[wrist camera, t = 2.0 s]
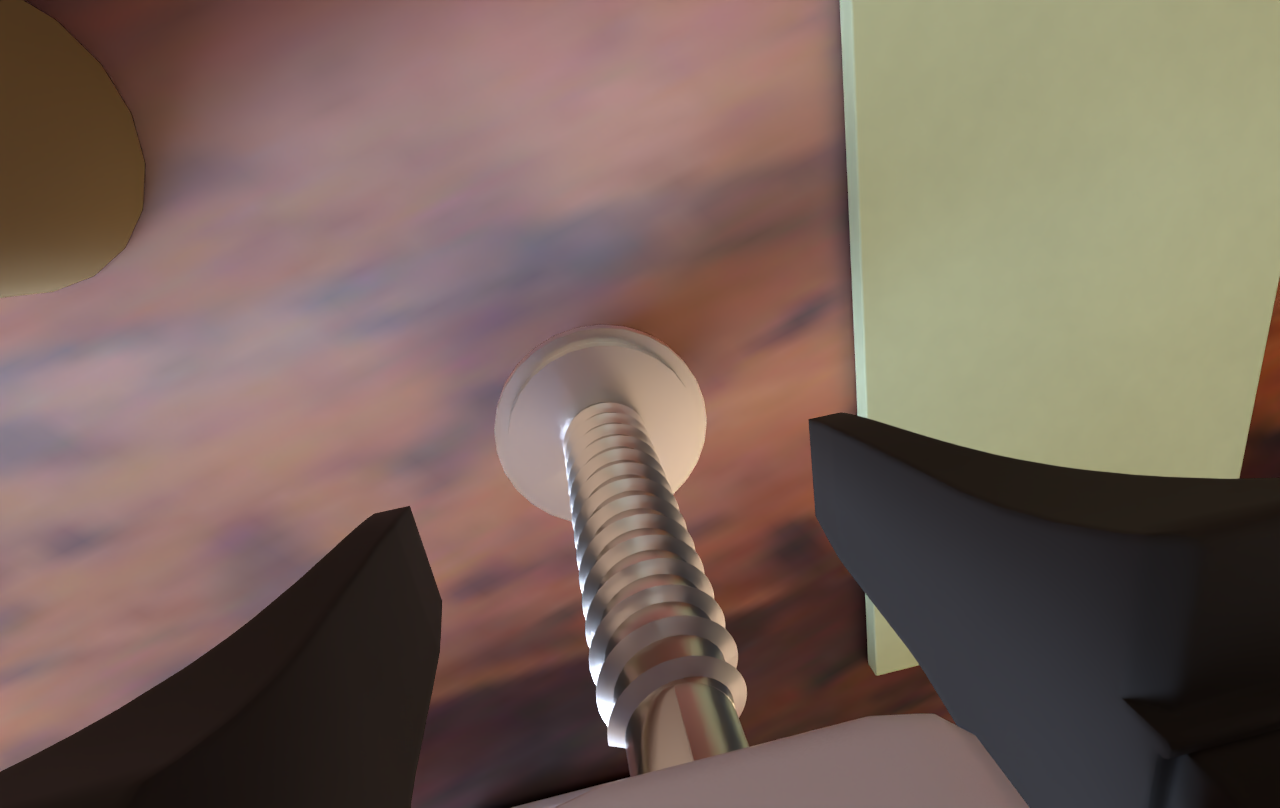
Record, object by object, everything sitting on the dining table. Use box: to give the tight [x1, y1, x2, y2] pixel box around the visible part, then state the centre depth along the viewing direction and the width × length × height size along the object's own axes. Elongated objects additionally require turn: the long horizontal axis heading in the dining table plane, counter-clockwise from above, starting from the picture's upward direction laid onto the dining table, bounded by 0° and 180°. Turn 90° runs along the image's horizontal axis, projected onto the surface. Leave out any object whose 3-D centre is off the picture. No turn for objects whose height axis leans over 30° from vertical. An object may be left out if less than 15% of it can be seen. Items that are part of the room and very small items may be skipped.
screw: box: [494, 324, 749, 777], centre depth 11 cm, size 13×5×5 cm
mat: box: [840, 0, 1280, 676], centre depth 19 cm, size 20×12×1 cm, turn 9°
